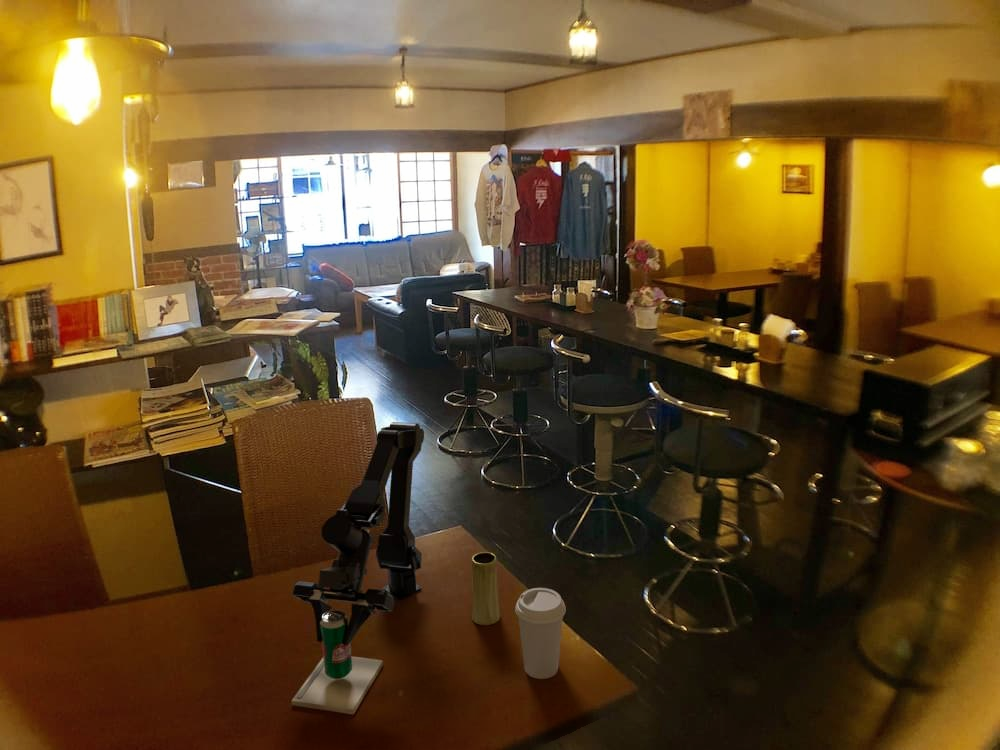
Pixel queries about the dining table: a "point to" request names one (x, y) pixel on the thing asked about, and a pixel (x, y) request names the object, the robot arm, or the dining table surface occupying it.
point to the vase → (485, 589)
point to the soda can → (335, 644)
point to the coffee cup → (540, 630)
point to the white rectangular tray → (338, 687)
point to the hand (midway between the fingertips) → (332, 643)
